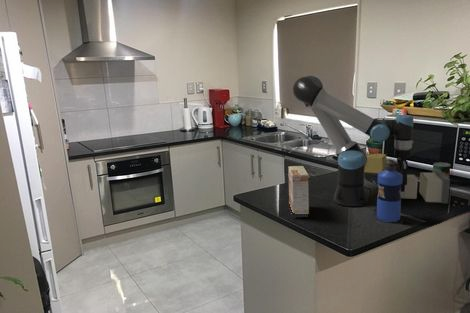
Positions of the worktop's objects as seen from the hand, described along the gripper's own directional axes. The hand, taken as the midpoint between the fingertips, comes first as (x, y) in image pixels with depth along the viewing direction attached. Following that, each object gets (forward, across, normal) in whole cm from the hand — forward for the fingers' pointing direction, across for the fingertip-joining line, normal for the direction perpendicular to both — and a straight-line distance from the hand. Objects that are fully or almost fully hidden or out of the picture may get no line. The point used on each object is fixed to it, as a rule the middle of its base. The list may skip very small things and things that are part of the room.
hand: (400, 195), depth 178 cm
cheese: (+1, +45, +6) cm, 45 cm away
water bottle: (+1, -29, +10) cm, 31 cm away
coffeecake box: (+1, -26, +47) cm, 53 cm away
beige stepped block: (0, 0, -14) cm, 14 cm away
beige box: (0, 0, -2) cm, 2 cm away
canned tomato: (+1, +20, -22) cm, 30 cm away
